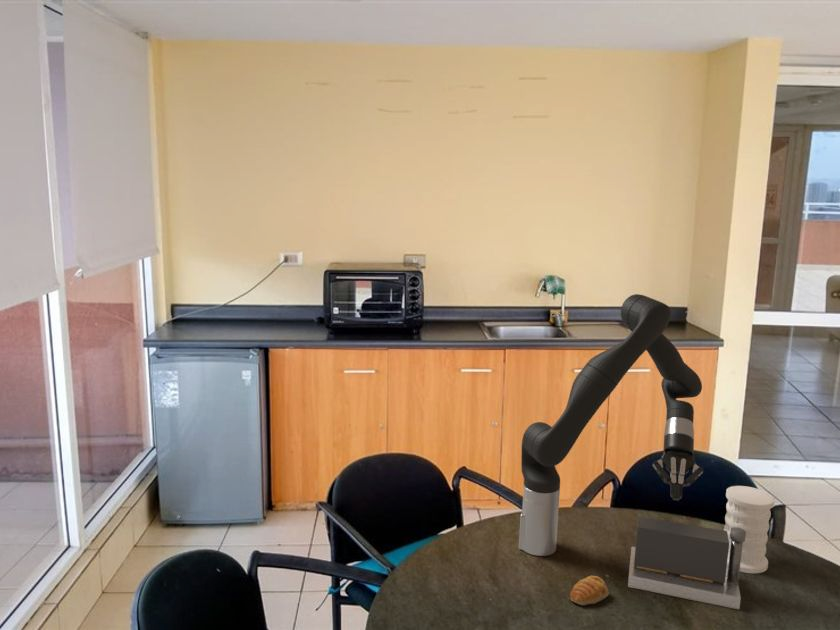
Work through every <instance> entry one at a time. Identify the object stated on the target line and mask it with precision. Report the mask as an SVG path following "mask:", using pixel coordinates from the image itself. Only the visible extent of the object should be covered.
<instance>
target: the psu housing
mask: <svg viewBox="0 0 840 630" xmlns="http://www.w3.org/2000/svg"><path fill="white" fill-rule="evenodd" d="M742 546H743V542H736V541H733V540H731V549H730V558H729V565H728V564H727V568H726V577H725V583H721V582H716V581H711V580H706V579H701V578H696V577H691V576H686V575H680V574H675V573H670V572H665V571H660V570H655V569H650V568H645V567H639V566H634V561H635V548H636V546H631V548H630V557H629V558H630V561H629V570H628V579H627V580H628V581H627V588H630V589H631V588H632V589H637V590H642V591H645V592H646V591H647V592H652V593H657V594H660V595H661V594H662V595H666V596H670V597H674V598H675V597H676V598H680V599H685V600H691V601H695V602H700V603H703V604H704V603H706V604H710V605H715V606H720V607H725V608H728V609H735V610H740V609H741V608H740V607H741V600H742V599H741V598H742V597H741V592H740V587H739V581H740V580H739V579H740V563H741V555H742Z"/></svg>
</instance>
